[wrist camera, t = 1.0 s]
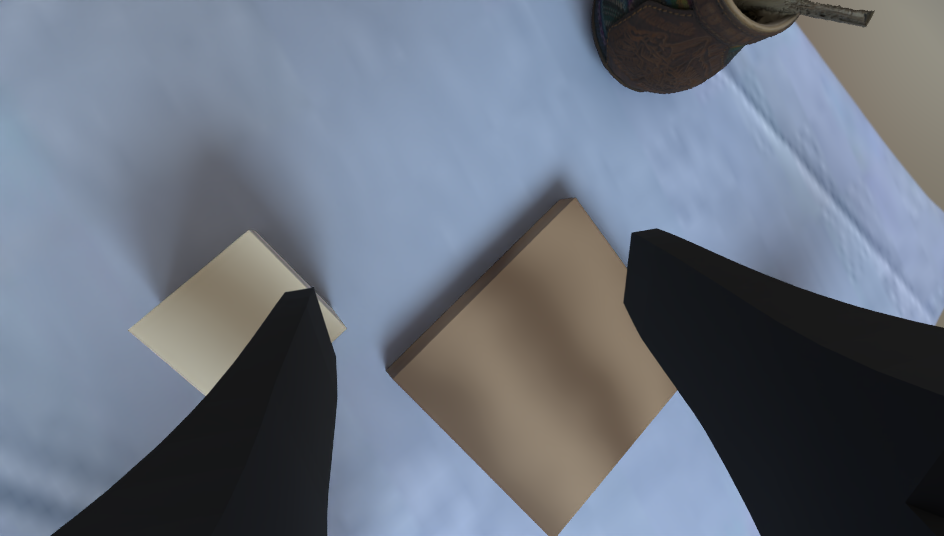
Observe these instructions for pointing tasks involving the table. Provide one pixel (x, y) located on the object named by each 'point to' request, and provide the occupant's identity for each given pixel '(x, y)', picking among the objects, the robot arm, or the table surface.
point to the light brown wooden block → (541, 368)
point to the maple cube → (222, 311)
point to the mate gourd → (692, 36)
